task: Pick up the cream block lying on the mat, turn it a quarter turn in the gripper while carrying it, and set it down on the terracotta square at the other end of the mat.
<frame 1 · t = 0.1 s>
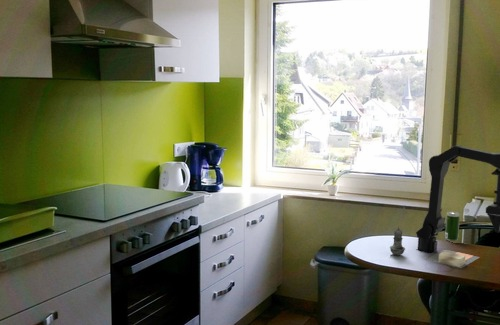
mat: (452, 259, 202), on the table
cream block: (451, 262, 197), point 1 cm above the table, touching mat
grey tower figurine: (396, 257, 205), on the table
beer can: (451, 240, 230), on the table
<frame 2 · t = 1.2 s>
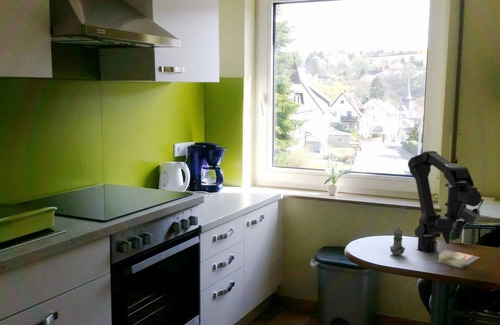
hand: (452, 241, 196), 9 cm above the table, tool pointing down, fingers open, 9 cm apart
nothing on the table moved.
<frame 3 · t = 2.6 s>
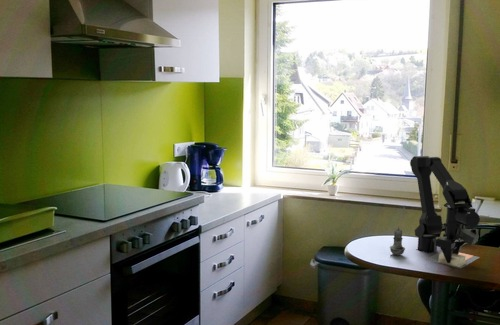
hand: (451, 261, 197), 1 cm above the table, tool pointing down, fingers closed on cream block, 5 cm apart
cream block: (451, 262, 197), point 1 cm above the table, touching gripper, mat
everything else where it was.
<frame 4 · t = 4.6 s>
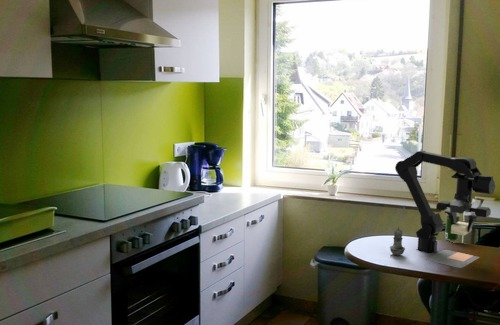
hand: (461, 230, 201), 11 cm above the table, tool pointing down, fingers closed on cream block, 5 cm apart
cream block: (461, 232, 201), point 11 cm above the table, touching gripper
everything else where it was.
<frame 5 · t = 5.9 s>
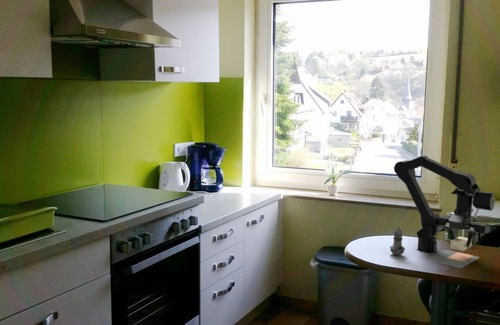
hand: (461, 245, 203), 5 cm above the table, tool pointing down, fingers closed on cream block, 5 cm apart
cream block: (460, 247, 203), point 4 cm above the table, touching gripper
everything else where it was.
when the fingers open (2 cm above the table, at t = 6.8 s): cream block drops 1 cm, resting on mat.
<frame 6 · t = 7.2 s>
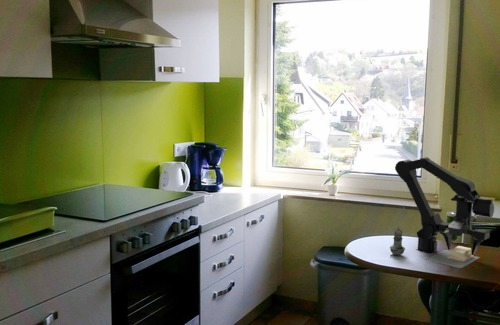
hand: (460, 252, 204), 2 cm above the table, tool pointing down, fingers open, 9 cm apart
cream block: (460, 256, 204), point 1 cm above the table, touching mat
everything else where it was.
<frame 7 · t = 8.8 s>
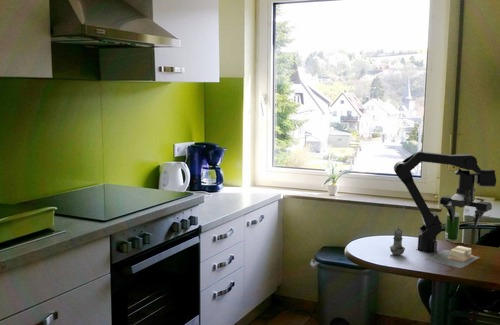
hand: (463, 224, 208), 12 cm above the table, tool pointing down, fingers open, 9 cm apart
nothing on the table moved.
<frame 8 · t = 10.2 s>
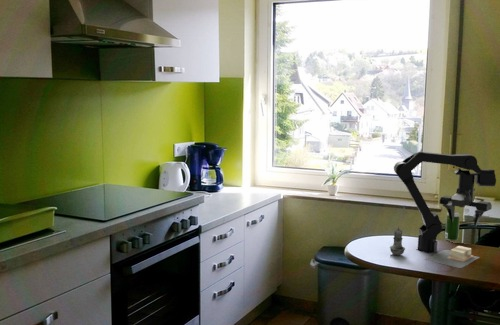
hand: (463, 224, 209), 12 cm above the table, tool pointing down, fingers open, 9 cm apart
nothing on the table moved.
at the end: cream block 0.0 cm from the target spot, point 0.7 cm above the table; cream block tilted 0°; the gripper is holding nothing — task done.
